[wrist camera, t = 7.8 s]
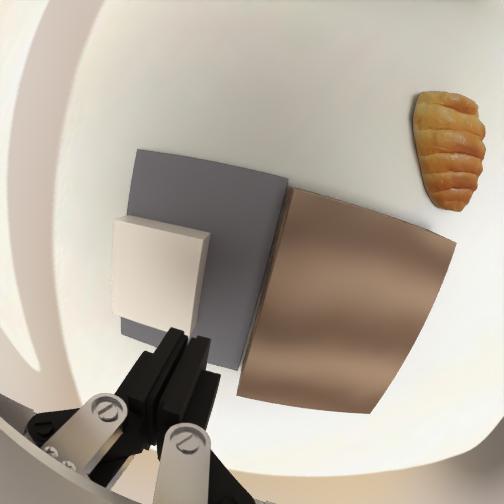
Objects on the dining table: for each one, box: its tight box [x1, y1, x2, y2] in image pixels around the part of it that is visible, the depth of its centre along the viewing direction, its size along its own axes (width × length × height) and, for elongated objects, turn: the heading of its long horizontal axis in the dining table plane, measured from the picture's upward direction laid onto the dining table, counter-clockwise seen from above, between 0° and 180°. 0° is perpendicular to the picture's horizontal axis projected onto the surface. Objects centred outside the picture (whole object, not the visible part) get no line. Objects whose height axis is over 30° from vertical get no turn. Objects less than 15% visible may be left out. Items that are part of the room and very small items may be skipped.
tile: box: [112, 215, 211, 338], centre depth 20 cm, size 8×7×2 cm
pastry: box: [413, 91, 486, 212], centre depth 15 cm, size 9×7×4 cm
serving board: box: [236, 187, 457, 414], centre depth 19 cm, size 16×12×4 cm
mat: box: [121, 149, 288, 371], centre depth 21 cm, size 17×12×1 cm
